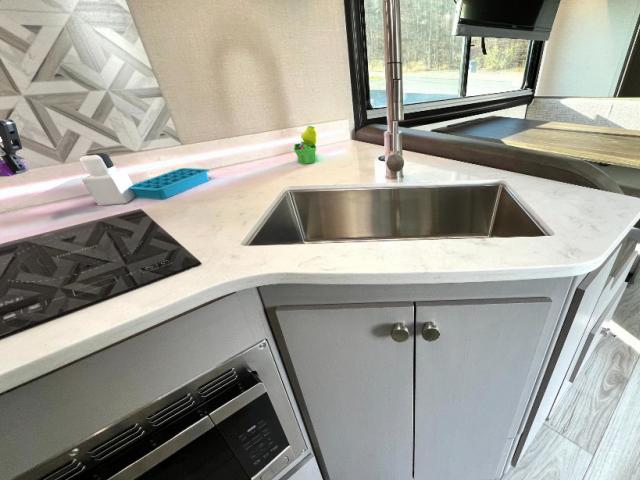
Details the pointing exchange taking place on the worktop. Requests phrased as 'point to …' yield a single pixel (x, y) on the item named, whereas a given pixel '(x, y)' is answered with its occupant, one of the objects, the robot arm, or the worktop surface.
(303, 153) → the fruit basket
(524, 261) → the worktop surface
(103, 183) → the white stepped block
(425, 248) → the worktop surface
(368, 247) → the worktop surface
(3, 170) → the candy
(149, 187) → the ice cube tray
